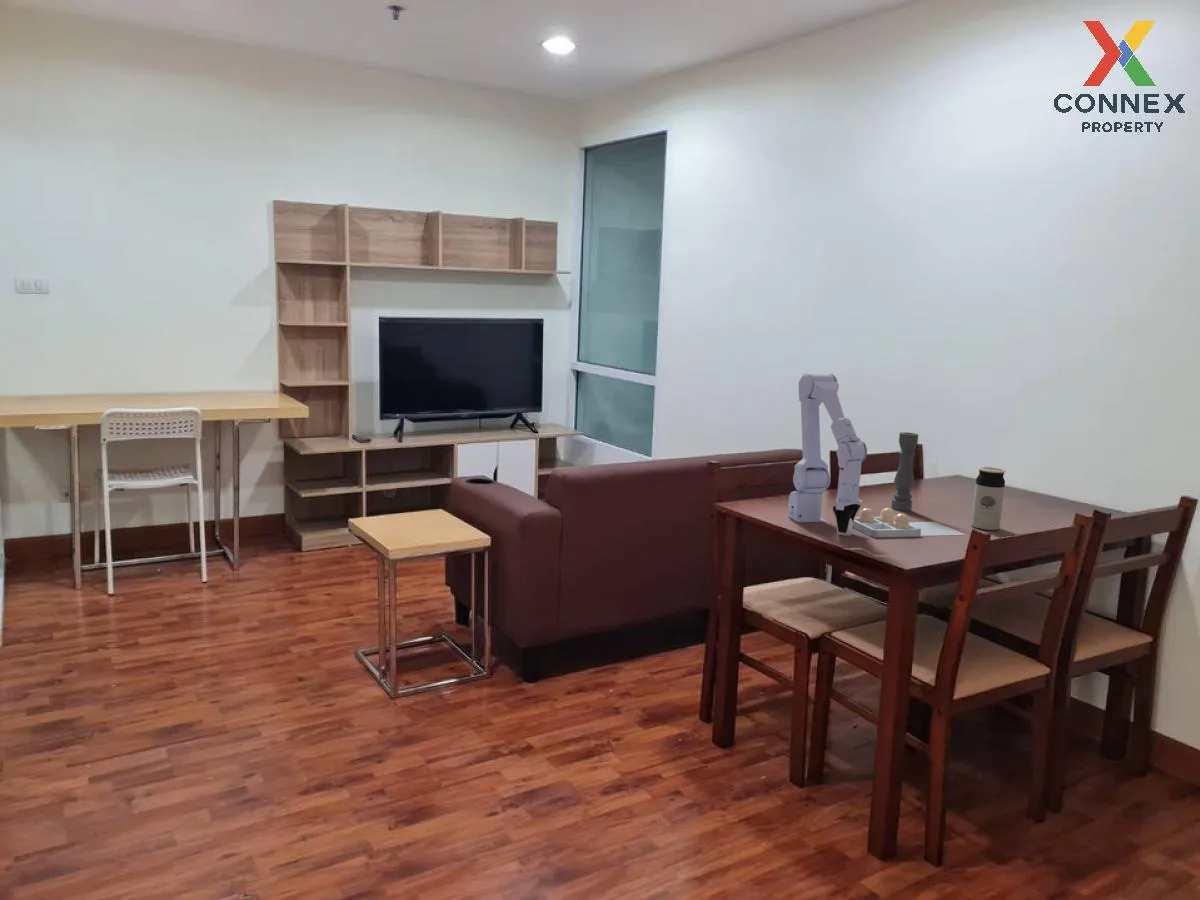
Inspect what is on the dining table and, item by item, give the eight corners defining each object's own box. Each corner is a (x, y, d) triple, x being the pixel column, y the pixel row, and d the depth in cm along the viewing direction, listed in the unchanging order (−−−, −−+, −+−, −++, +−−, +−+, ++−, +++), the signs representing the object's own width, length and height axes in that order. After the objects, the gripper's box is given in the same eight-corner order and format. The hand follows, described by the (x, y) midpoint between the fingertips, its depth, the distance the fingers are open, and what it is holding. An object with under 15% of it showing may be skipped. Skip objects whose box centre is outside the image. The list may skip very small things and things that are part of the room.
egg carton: (873, 539, 253) (873, 530, 253) (846, 525, 267) (846, 517, 267) (966, 536, 261) (966, 528, 260) (934, 523, 275) (935, 515, 274)
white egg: (841, 537, 253) (842, 517, 252) (833, 533, 257) (835, 514, 256) (854, 537, 254) (856, 517, 253) (847, 533, 258) (848, 514, 257)
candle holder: (907, 508, 295) (914, 432, 290) (914, 512, 289) (922, 435, 284) (888, 507, 294) (895, 431, 290) (895, 512, 288) (902, 434, 284)
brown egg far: (884, 528, 264) (886, 509, 263) (876, 524, 268) (878, 506, 267) (897, 528, 265) (898, 509, 264) (889, 524, 269) (891, 506, 268)
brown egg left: (862, 529, 262) (864, 509, 261) (855, 525, 266) (857, 506, 265) (875, 528, 263) (877, 509, 262) (868, 525, 267) (869, 506, 266)
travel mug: (975, 522, 278) (982, 465, 275) (1002, 527, 274) (1009, 469, 271) (967, 527, 272) (974, 468, 269) (994, 532, 267) (1002, 472, 264)
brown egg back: (897, 534, 257) (899, 515, 256) (889, 531, 261) (891, 511, 260) (910, 534, 258) (912, 515, 257) (902, 530, 262) (904, 511, 261)
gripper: (856, 489, 245) (851, 538, 247) (869, 481, 257) (865, 527, 260) (830, 485, 249) (826, 533, 251) (845, 478, 261) (841, 523, 263)
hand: (844, 530), depth 256 cm, fingers closed on white egg, 4 cm apart
